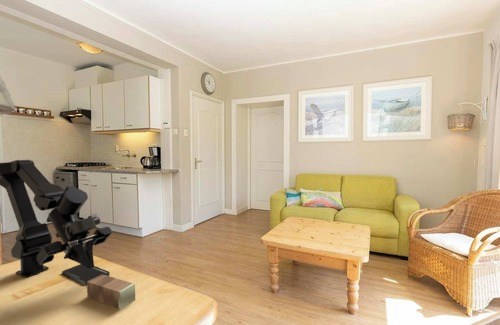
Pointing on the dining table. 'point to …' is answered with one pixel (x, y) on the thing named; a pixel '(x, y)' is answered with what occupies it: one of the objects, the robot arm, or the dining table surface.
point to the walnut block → (111, 291)
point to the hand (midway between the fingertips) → (92, 267)
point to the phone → (84, 273)
